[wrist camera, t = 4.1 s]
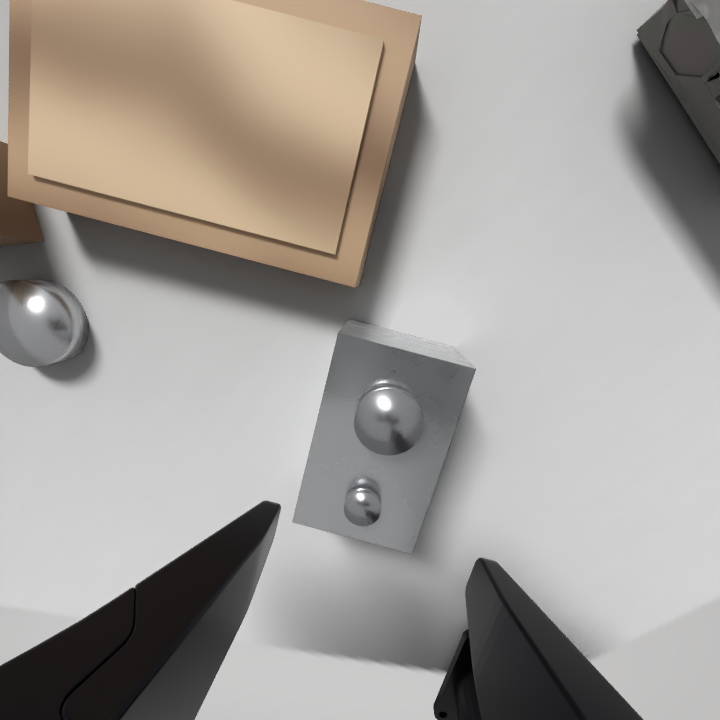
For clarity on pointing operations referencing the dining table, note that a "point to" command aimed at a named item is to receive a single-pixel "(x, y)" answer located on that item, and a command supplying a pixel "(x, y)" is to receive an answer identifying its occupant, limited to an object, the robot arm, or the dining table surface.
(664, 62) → the electrical switch
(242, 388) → the dining table surface
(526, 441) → the dining table surface
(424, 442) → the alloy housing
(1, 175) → the walnut offcut
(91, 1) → the tan shallow rectangular tray
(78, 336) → the chrome dome knob
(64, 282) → the dining table surface
